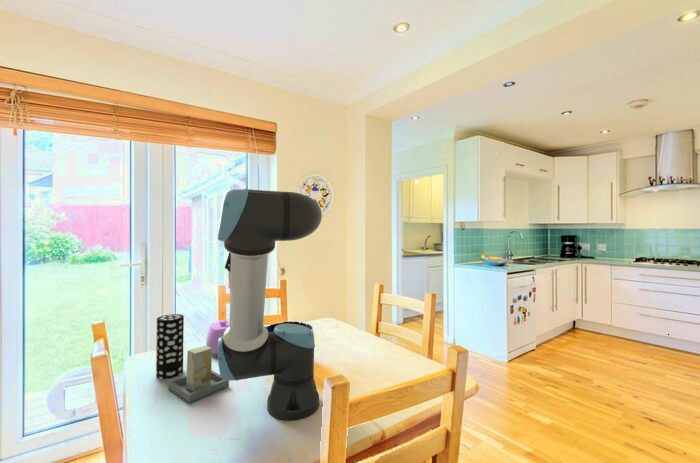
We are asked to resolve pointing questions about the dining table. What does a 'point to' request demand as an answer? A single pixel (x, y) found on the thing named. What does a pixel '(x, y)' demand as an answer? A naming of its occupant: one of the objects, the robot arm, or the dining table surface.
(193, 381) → the skincare box
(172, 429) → the dining table surface
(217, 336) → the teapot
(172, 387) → the tray
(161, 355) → the white-spotted black cylinder
